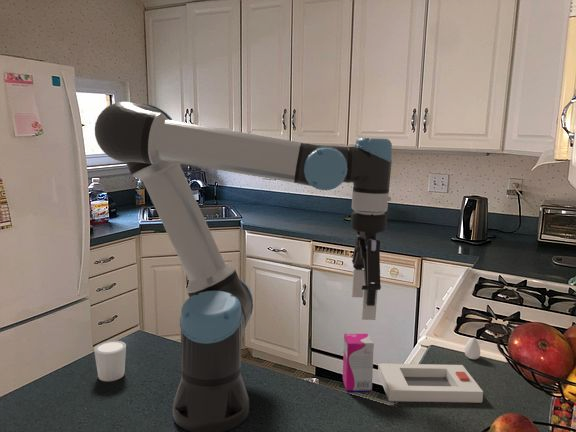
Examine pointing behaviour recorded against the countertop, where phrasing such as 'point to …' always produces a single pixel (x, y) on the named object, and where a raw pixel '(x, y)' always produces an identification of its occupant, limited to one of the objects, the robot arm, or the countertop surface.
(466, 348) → the egg
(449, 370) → the socket plate
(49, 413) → the countertop surface
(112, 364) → the white candle
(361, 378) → the supplement box
